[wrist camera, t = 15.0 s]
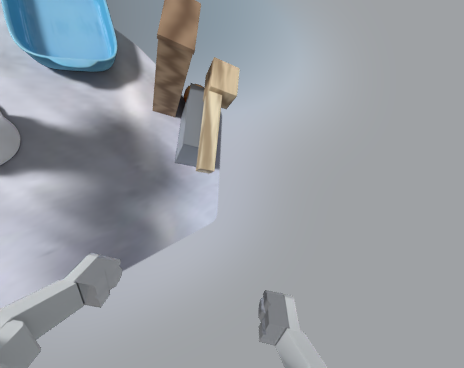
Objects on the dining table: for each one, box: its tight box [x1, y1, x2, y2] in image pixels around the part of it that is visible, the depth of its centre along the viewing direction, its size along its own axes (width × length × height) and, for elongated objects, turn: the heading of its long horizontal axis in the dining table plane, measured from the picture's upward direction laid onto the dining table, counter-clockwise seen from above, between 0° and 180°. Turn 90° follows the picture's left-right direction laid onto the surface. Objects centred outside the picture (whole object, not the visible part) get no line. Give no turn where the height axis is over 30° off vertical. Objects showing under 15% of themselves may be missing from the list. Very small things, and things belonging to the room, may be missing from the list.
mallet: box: [196, 57, 239, 173], centre depth 48 cm, size 7×28×7 cm
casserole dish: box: [1, 0, 117, 72], centre depth 51 cm, size 37×22×7 cm, turn 20°
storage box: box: [175, 83, 204, 167], centre depth 56 cm, size 8×18×14 cm, turn 176°
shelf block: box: [153, 0, 201, 117], centre depth 51 cm, size 7×14×26 cm, turn 176°
